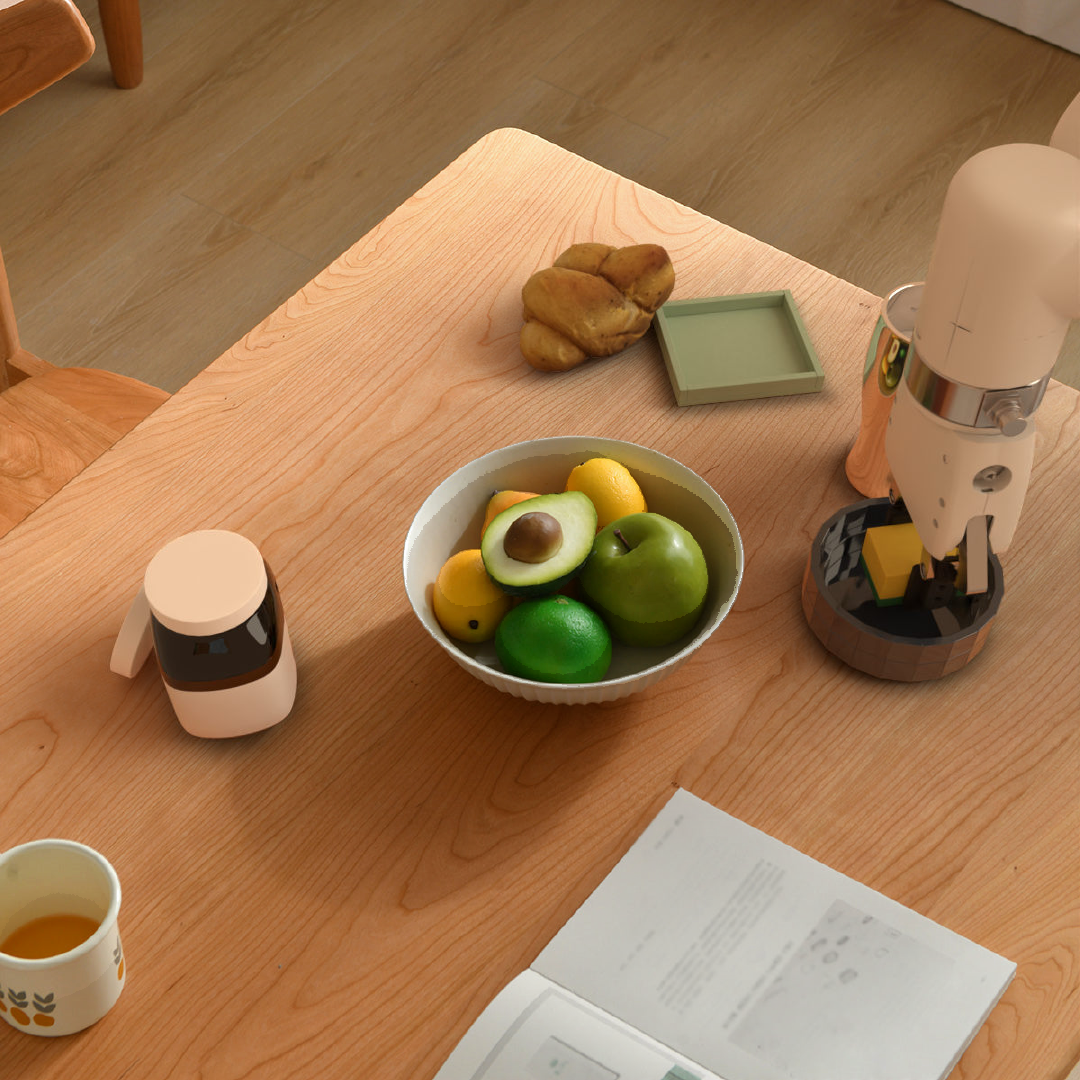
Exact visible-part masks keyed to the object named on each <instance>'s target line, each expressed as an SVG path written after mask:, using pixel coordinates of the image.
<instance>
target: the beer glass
mask: <svg viewBox="0 0 1080 1080" xmlns="http://www.w3.org/2000/svg"><path fill="white" fill-rule="evenodd" d="M924 284H925V281H914V282H908V283H904V284H901V285H899V286H897V287H895V288H893V289H892V290H891V291H889V292H888V293H887V294H886V295H885V297H884V298H883V301H882V302H881V306H880V307H881V308H880V311H879V313H878V316H877V319H876V320H875V321H876V322H875V324H874V326H873V329H872V333H871V335H870V339H869V342H868V346H867V349H866V354H865V359H864V363H863V369H862V381H861V417H860V418H861V419H860V420H861V421H860V428H859V432H858V436H857V438H856V440H855V442H854V444H853V446H852V447H851V450H850V452H849V453H848V455H847V457H846V460H845V466H844V467H845V474H846V477H847V479H848V481H849V483H850V484H851V485H852V487H853V488H854V489H855V490H856V491H858V492H859V493H860V494H861V495H863V496H865V497H867V498H868V499H871V498H880V497H889V488H890V486H891V483H892V481H893V479H894V476H893V473H892V471H891V468H890V466H889V463H888V460H887V456H886V452H885V437H886V430H887V425H888V421H889V416H890V412H891V409H892V405H893V402H894V399H895V395H896V392H897V389H898V386H899V383H900V380H901V377H902V374H903V370H904V366H905V361H906V357H907V353H908V349H909V345H910V341H911V337H912V333H913V329H914V326H915V322H916V317H917V313H918V309H919V305H920V301H921V297H922V293H923V289H924Z"/></svg>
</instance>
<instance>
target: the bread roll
mask: <svg viewBox="0 0 1080 1080" xmlns="http://www.w3.org/2000/svg"><path fill="white" fill-rule="evenodd" d="M675 285H676V272H675V270H674V265H673V262H672V260H671V257H670V256H669V254H668V252H667V250H666V249H665V248H664V247H663V246H662V245H658V244H656V243H641V244H640V243H639V244H636V245H635V244H634V245H628V246H622V247H620V248H618V247H616V246H614V245H608V244H605V243H600V242H583V243H582V242H581V243H572V244H571V245H570V246H569V247H568V248H567V249H565V250H564V251H563V252H562V253H561V254H560V255H559V256H558V257H557V258H556V259H555V260H554V262H553V264H552V266H551V267H547V268H545V269H542V270H541V269H540V270H538V271H536V272H535V273H533V274H532V275H531V276H530V277H529V278H528V279H527V281H526V282H525V283H524V285H522V288H521V302H522V312H521V317H522V319H523V321H524V324H523V326H522V327H521V328H520V331H519V334H520V336H519V343H518V344H519V346H518V347H519V351H520V353H521V357H522V358H524V360H525V362H526V363H527V364H528V365H529V366H530V367H532V368H533V369H535V370H538V371H542V372H547V373H549V372H551V373H558V372H560V373H561V372H566V371H570V370H573V369H575V368H576V367H578V366H579V365H581V364H582V363H584V362H585V361H586V360H587V359H593V358H596V359H597V358H606V357H613V355H615V354H616V355H617V354H619V353H621V352H623V351H625V350H627V349H628V348H630V347H631V346H633V345H634V344H635V343H636V342H637V341H639V340H640V339H641V338H642V337H643V336H644V335H645V334H646V333H647V331H648V330H649V329H650V326H651V322H652V318H653V316H654V314H655V311H657V310H658V309H659V308H660V307H661V306H662V305H663V304H664V303H665V302H666V301H668V300H669V298H670V297H671V296H672V293H673V291H674V289H675Z"/></svg>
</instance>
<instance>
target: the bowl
mask: <svg viewBox="0 0 1080 1080" xmlns="http://www.w3.org/2000/svg"><path fill="white" fill-rule="evenodd" d="M889 507H895V505H892V504H891V503H890V500H889V497H880V498H864V499H862V500H859V501H857V502H854V503H851V504H849V505H846V506H843V507H841V508H840V509H838V510H837V511H836V512H834V513H833V514H832V515H831V516H830V517H829V518H828V519H826V520H825V521H824V522H823V523H822V524H821V525H820V527H819V529H818V531H817V533H816V535H815V537H814V539H813V541H812V543H811V544H810V550H809V553H808V558H807V562H806V566H805V570H804V574H803V579H802V585H801V586H802V590H801V606H802V609H803V612H804V615H805V617H806V620H807V623H808V626H809V629H810V630H811V631H812V632H813V633H814V635H815V636H816V637H817V639H818V640H819V641H820V642H821V644H822V645H823V646H824V647H825V649H827V650H828V651H829V652H831V653H832V654H833V655H835V656H836V657H837V658H839V659H840V660H841V661H843V662H844V663H845V664H847V665H848V666H850V667H851V668H854V669H856V670H858V671H861V672H864V673H866V674H868V675H871V676H873V677H876V678H880V679H885V680H894V681H900V682H908V683H909V682H911V683H912V682H920V681H927V680H934V679H935V680H936V679H940V678H941V679H942V678H943V677H946V676H947V675H949V674H952V673H954V672H956V671H958V670H961V669H963V668H964V667H965V666H967V665H968V664H969V663H970V662H971V661H972V660H973V658H974V657H976V656H977V654H978V653H979V652H980V651H981V650H982V648H983V646H984V644H985V642H986V639H987V637H988V635H989V633H990V630H991V628H992V626H993V624H994V621H995V619H996V616H997V614H998V611H999V610H1000V606H1001V603H1002V601H1003V598H1004V596H1005V577H1004V568H1003V565H1002V563H1001V561H1000V559H999V557H998V555H997V553H996V554H993V553H992V551H991V549H990V547H989V545H988V543H987V578H988V587H987V591H986V592H983V593H975V594H968V595H963V596H956V597H955V599H954V602H953V603H952V604H950V605H948V606H944V607H942V608H940V609H934V610H926V609H919V610H912V611H906V610H905V608H904V606H903V604H898V605H891V606H883V607H878V606H877V603H876V601H875V598H874V596H873V593H872V590H871V588H870V585H869V583H868V580H867V577H866V575H865V572H864V570H863V567H862V564H861V562H860V556H861V552H862V548H863V544H864V540H865V536H866V532H867V529H868V528H875V527H882V526H884V523H885V519H886V515H887V511H888V508H889Z"/></svg>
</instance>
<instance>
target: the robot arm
mask: <svg viewBox="0 0 1080 1080" xmlns="http://www.w3.org/2000/svg"><path fill="white" fill-rule="evenodd" d="M925 276H926V277H925V280H924V282H925V284H924V289H923V293H922V297H921V301H920V305H919V309H918V313H917V317H916V322H915V326H914V329H913V333H912V337H911V341H910V345H909V349H908V353H907V357H906V361H905V366H904V370H903V374H902V377H901V380H900V383H899V386H898V389H897V392H896V395H895V399H894V402H893V405H892V409H891V412H890V416H889V421H888V425H887V430H886V437H885V452H886V456H887V460H888V463H889V466H890V468H891V471H892V473H893V476H894V479H893V481H892V483H891V486H890V488H889V500H890V503H891V504H892V505H895V507H889V508H888V511H887V515H886V519H885V523H884V526H890V525H898V524H906V523H914V525H915V528H916V530H917V532H918V534H919V537H920V539H921V541H922V543H923V548H922V554H921V560H920V564H916V565H914V566H913V567H912V570H911V574H910V577H909V581H908V584H907V587H906V591H905V594H904V598H903V601H902V603H903V606H904V608H905V610H906V611H912V610H919V609H926V610H934V609H940V608H942V607H944V606H948V605H950V604H952V603H953V602H954V599H955V596H956V593H957V591H958V590H959V591H960V592H962V593H963V594H964V595H968V594H975V593H983V592H986V591H987V587H988V578H987V543H988V545H989V547H990V549H991V551H992V553H993V554H996V555H997V554H1000V553H1005V552H1007V550H1008V549H1009V547H1010V545H1011V543H1012V541H1013V538H1014V535H1015V533H1016V529H1017V526H1018V524H1019V521H1020V517H1021V513H1022V511H1023V506H1024V503H1025V499H1026V496H1027V492H1028V488H1029V483H1030V479H1031V473H1032V469H1033V464H1034V459H1035V457H1034V456H1035V451H1036V439H1037V429H1038V427H1037V424H1036V420H1035V415H1036V414H1037V413H1038V411H1039V409H1040V407H1041V405H1042V402H1043V399H1044V396H1045V394H1046V391H1047V388H1048V385H1049V383H1050V380H1051V378H1052V374H1053V371H1054V368H1055V365H1056V363H1057V361H1058V358H1059V357H1058V356H1059V354H1060V352H1061V349H1062V346H1063V343H1064V340H1065V338H1066V335H1067V333H1068V329H1069V326H1070V324H1071V321H1072V320H1074V319H1075V320H1076V319H1080V91H1078V93H1077V94H1076V96H1075V97H1074V98H1073V100H1072V101H1071V102H1070V104H1069V105H1068V106H1067V107H1066V109H1065V110H1064V111H1063V113H1062V115H1061V117H1060V119H1059V120H1058V122H1057V124H1056V126H1055V128H1054V130H1053V131H1052V133H1051V137H1050V140H1049V145H1042V144H1037V143H1029V142H1028V143H1027V142H1026V143H1024V142H1023V143H1021V142H1020V143H1015V142H1013V143H1007V144H1001V145H997V146H992V147H989V148H986V149H984V150H981V151H979V152H977V153H976V154H975V155H973V156H971V157H969V158H968V159H967V160H966V161H965V162H964V163H963V164H961V166H960V167H959V168H958V170H957V171H956V172H955V174H954V175H953V177H952V179H951V181H950V183H949V185H948V187H947V192H946V195H945V198H944V201H943V206H942V210H941V214H940V218H939V222H938V226H937V231H936V235H935V239H934V243H933V247H932V251H931V256H930V260H929V264H928V269H927V271H926V275H925ZM954 548H957V550H956V556H953V555H952V556H947V555H946V552H948V551H952V550H953V549H954Z"/></svg>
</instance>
